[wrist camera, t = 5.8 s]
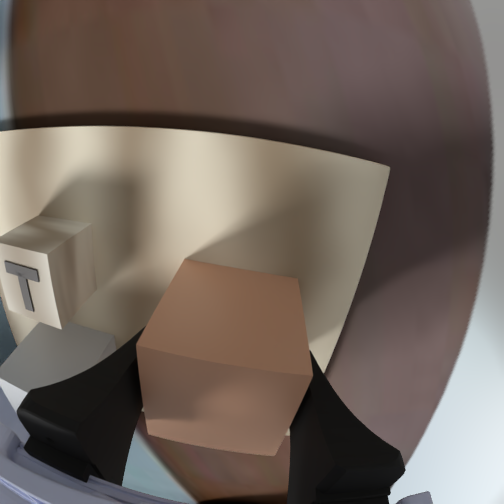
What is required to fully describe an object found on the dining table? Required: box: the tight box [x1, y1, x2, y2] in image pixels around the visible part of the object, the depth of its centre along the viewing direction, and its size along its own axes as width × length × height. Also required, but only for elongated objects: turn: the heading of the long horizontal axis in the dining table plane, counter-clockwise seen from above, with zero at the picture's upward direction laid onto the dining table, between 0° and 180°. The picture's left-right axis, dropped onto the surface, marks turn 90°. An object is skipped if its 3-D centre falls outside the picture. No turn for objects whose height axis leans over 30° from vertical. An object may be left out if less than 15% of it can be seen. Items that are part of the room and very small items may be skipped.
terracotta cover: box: [136, 259, 313, 456], centre depth 13 cm, size 6×6×6 cm
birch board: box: [0, 126, 390, 435], centre depth 17 cm, size 24×20×1 cm
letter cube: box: [0, 215, 97, 330], centre depth 13 cm, size 4×4×4 cm
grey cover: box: [0, 322, 116, 413], centre depth 15 cm, size 6×6×6 cm
